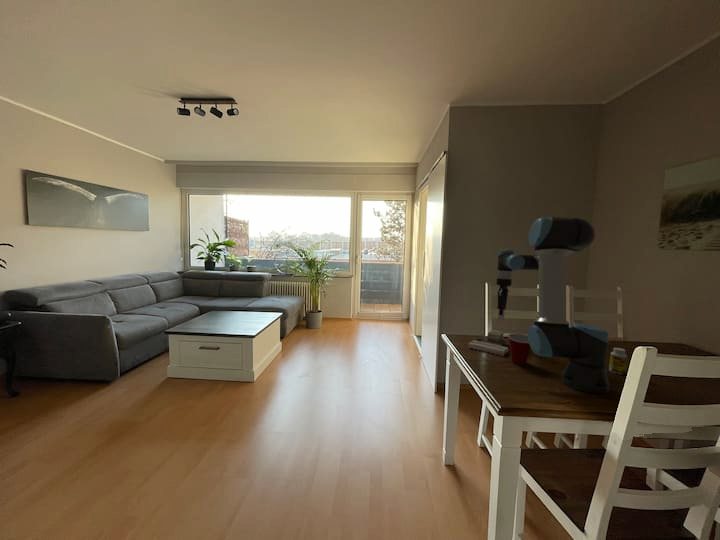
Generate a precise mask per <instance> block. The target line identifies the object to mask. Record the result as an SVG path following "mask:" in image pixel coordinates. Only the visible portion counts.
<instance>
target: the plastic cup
mask: <svg viewBox="0 0 720 540" xmlns="http://www.w3.org/2000/svg"><path fill="white" fill-rule="evenodd" d="M507 338H508V341H510V355H511V356H510V357H511V362H512V363H513V364H516V365H519V366H520V365H522V366H525V365H526V364H527V362H528V357H529V355H530V351H531V350H532V349H531V347H530V344H529V341H528V334H527V335H526V334H523V333H509V334H508V335H507ZM524 364H525V365H524Z"/></svg>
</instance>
